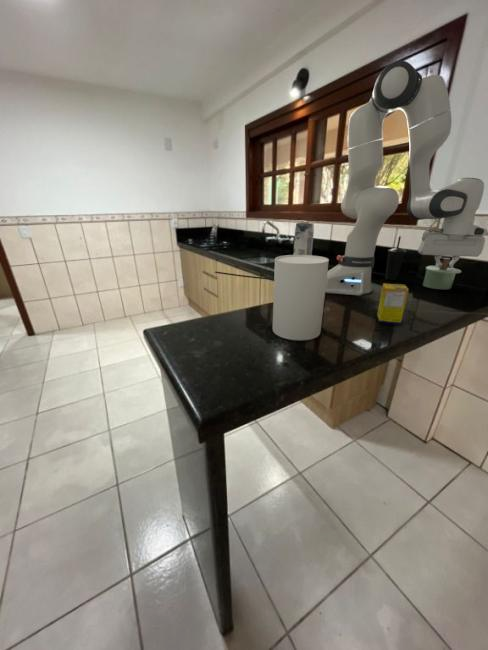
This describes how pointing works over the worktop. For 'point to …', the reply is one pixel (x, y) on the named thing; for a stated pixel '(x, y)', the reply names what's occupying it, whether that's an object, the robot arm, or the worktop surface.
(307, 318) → the canister
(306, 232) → the juice carton
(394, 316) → the supplement box
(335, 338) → the worktop surface
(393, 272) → the drinking cup
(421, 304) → the worktop surface
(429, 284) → the pot
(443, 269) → the lid
